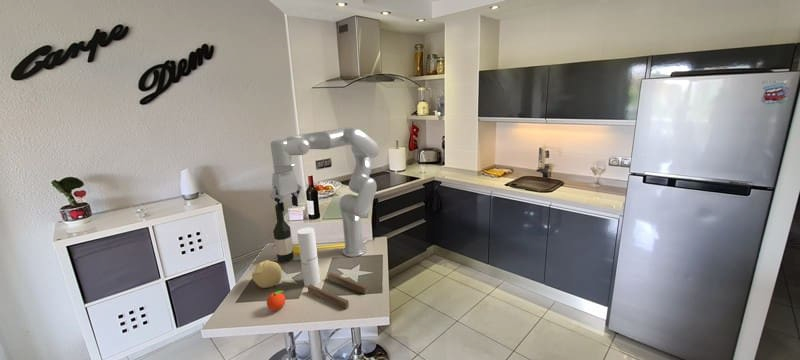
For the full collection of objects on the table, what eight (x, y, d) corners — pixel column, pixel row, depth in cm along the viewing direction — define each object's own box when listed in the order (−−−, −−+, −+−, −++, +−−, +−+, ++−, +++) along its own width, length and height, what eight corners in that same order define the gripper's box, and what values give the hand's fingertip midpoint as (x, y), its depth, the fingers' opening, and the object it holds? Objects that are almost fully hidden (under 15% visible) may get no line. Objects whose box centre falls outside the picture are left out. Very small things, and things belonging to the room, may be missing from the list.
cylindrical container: (320, 284, 146) (314, 232, 139) (304, 287, 144) (297, 235, 137) (319, 276, 152) (313, 226, 146) (303, 279, 150) (297, 228, 144)
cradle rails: (330, 278, 150) (329, 272, 150) (367, 292, 138) (367, 286, 138) (308, 292, 140) (307, 286, 139) (346, 309, 128) (345, 302, 127)
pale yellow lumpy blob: (261, 277, 154) (257, 256, 151) (286, 276, 154) (283, 255, 151) (250, 291, 143) (246, 269, 140) (278, 290, 143) (274, 268, 140)
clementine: (282, 300, 136) (280, 284, 134) (292, 306, 131) (290, 290, 129) (264, 310, 130) (261, 294, 128) (273, 316, 125) (271, 300, 124)
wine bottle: (289, 263, 166) (281, 207, 158) (274, 262, 167) (265, 206, 160) (297, 255, 173) (290, 201, 166) (283, 254, 175) (275, 201, 167)
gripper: (294, 164, 149) (298, 201, 154) (260, 172, 136) (266, 212, 140) (305, 165, 145) (309, 203, 150) (271, 174, 131) (277, 215, 136)
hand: (288, 207), depth 145 cm, fingers open, 6 cm apart
